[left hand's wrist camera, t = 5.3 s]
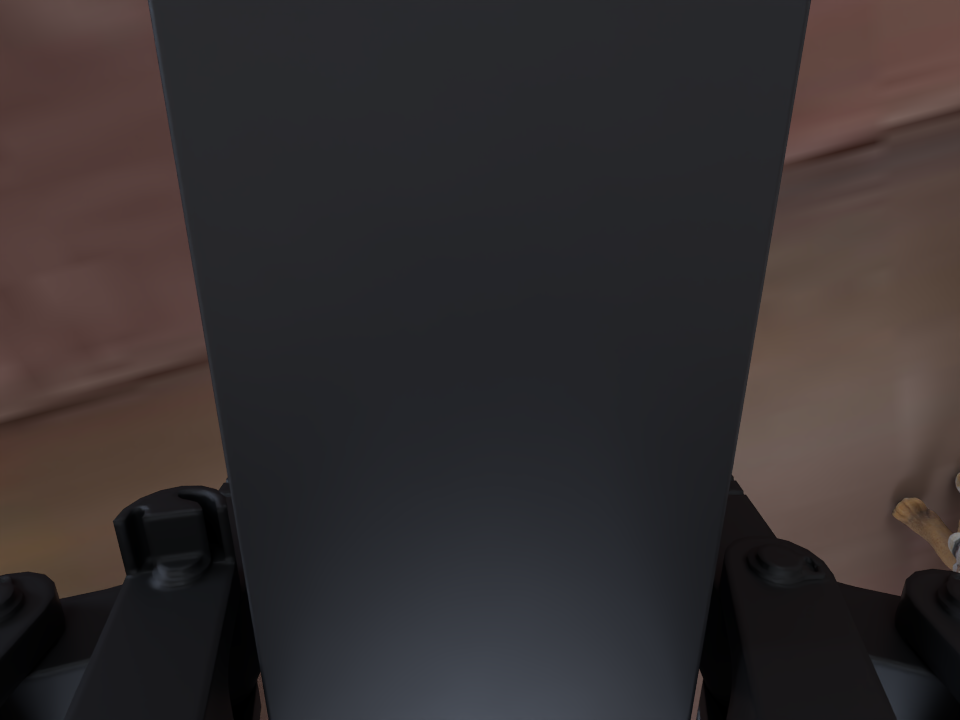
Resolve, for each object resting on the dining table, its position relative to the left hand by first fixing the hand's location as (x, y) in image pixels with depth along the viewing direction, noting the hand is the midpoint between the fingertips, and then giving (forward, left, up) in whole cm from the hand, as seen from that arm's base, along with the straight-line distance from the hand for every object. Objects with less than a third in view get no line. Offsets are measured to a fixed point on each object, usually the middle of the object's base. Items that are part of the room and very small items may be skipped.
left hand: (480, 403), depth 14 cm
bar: (+7, 0, -1) cm, 7 cm away
